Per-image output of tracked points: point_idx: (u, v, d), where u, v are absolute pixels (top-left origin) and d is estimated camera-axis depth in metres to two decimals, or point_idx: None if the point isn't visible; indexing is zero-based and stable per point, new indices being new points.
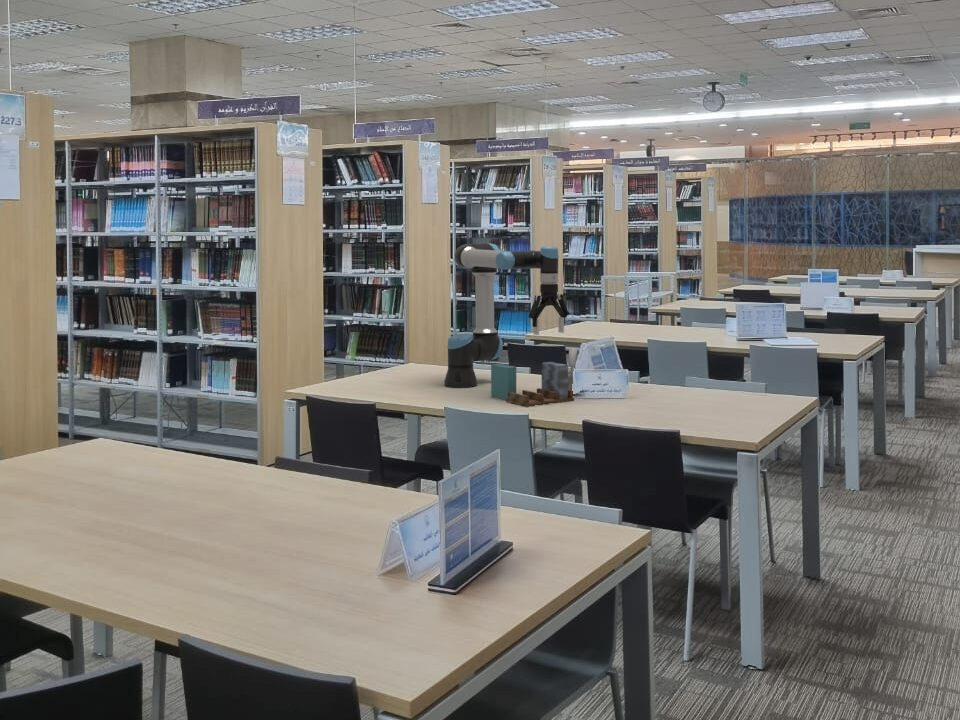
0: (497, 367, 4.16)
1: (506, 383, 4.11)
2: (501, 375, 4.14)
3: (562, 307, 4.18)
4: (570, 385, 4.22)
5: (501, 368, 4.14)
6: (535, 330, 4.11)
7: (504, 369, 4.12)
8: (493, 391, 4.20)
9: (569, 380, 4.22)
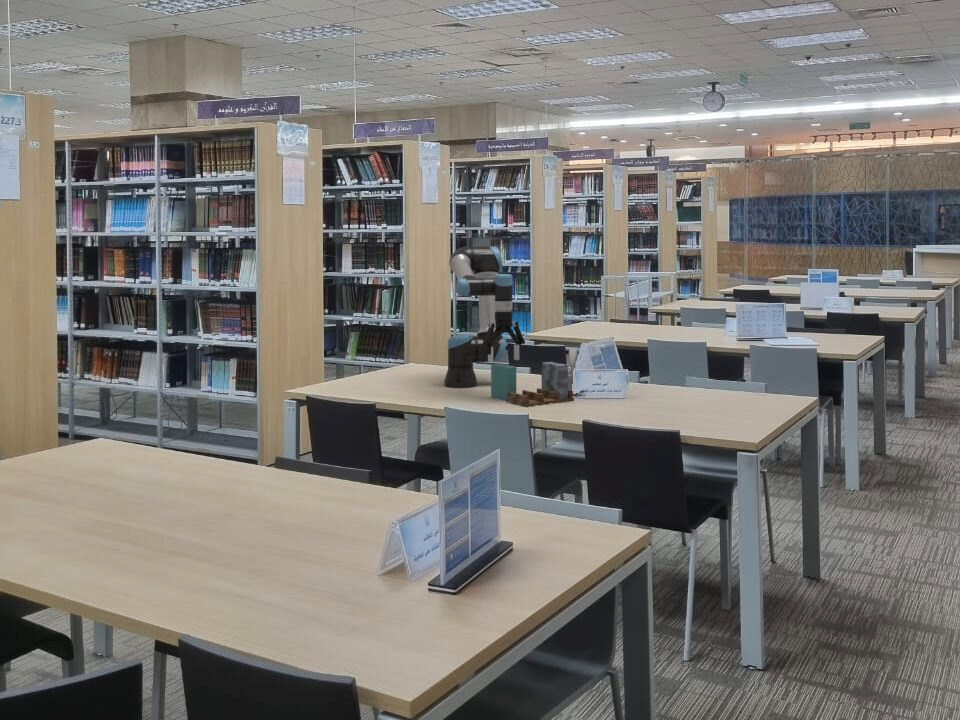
0: (497, 367, 4.16)
1: (506, 383, 4.11)
2: (501, 375, 4.14)
3: (517, 334, 4.18)
4: (570, 385, 4.22)
5: (501, 368, 4.14)
6: (489, 358, 4.11)
7: (504, 369, 4.12)
8: (493, 391, 4.20)
9: (569, 380, 4.22)
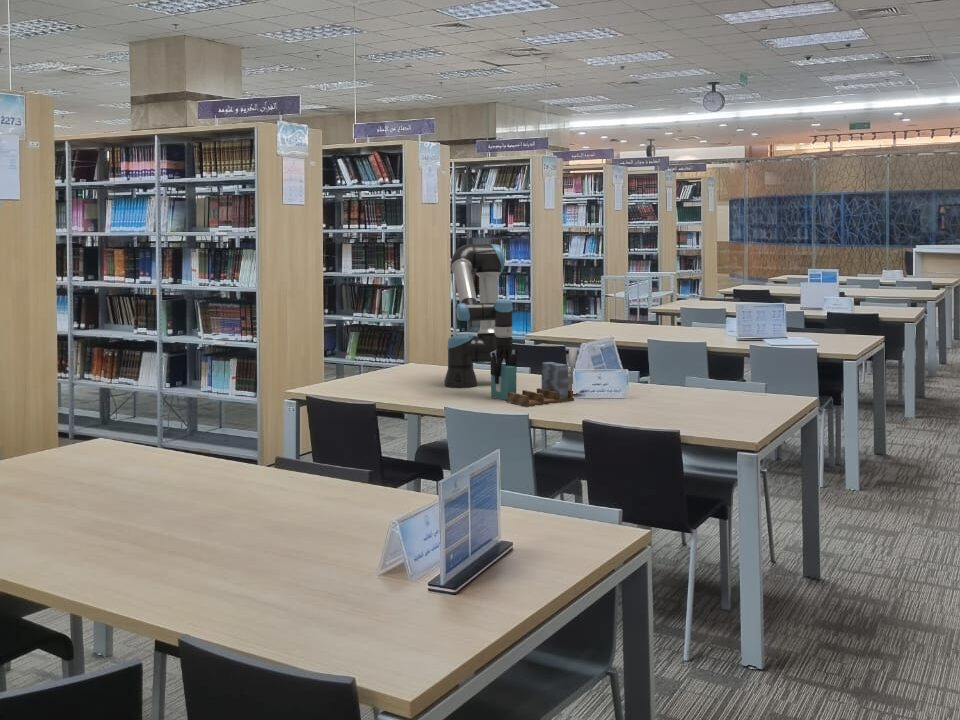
0: None
1: (506, 383, 4.11)
2: (501, 375, 4.14)
3: (512, 363, 4.19)
4: (570, 385, 4.22)
5: (501, 368, 4.14)
6: (497, 387, 4.16)
7: (504, 369, 4.12)
8: (493, 391, 4.20)
9: (569, 380, 4.22)
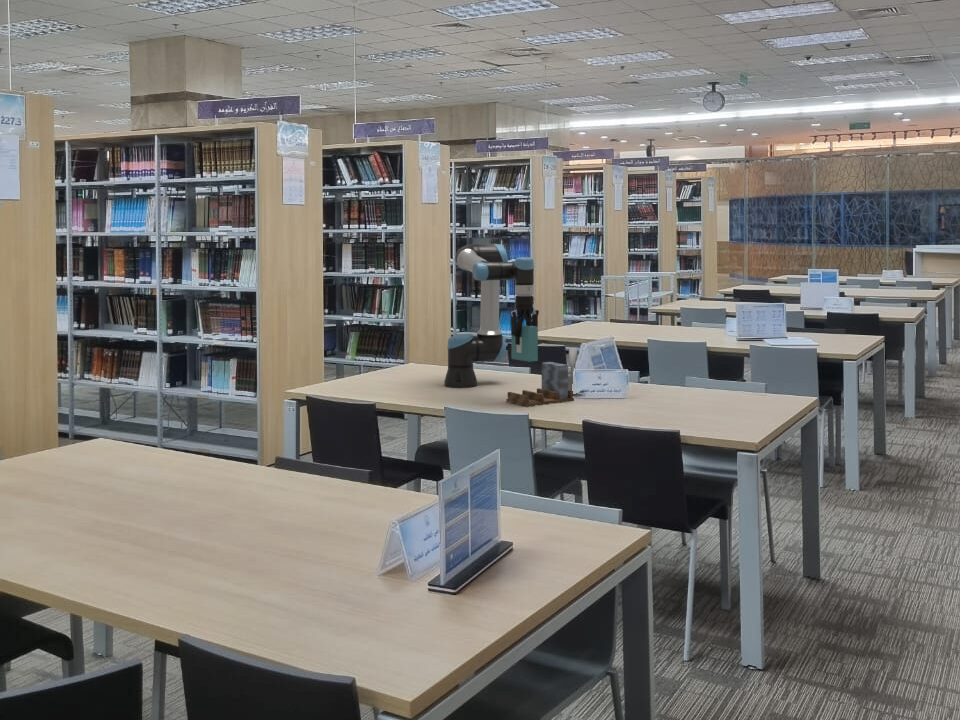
0: None
1: (527, 343, 3.97)
2: (522, 335, 4.00)
3: (533, 324, 4.05)
4: (570, 385, 4.22)
5: (522, 328, 3.99)
6: (518, 348, 4.01)
7: (525, 329, 3.98)
8: (514, 353, 4.05)
9: (569, 380, 4.22)
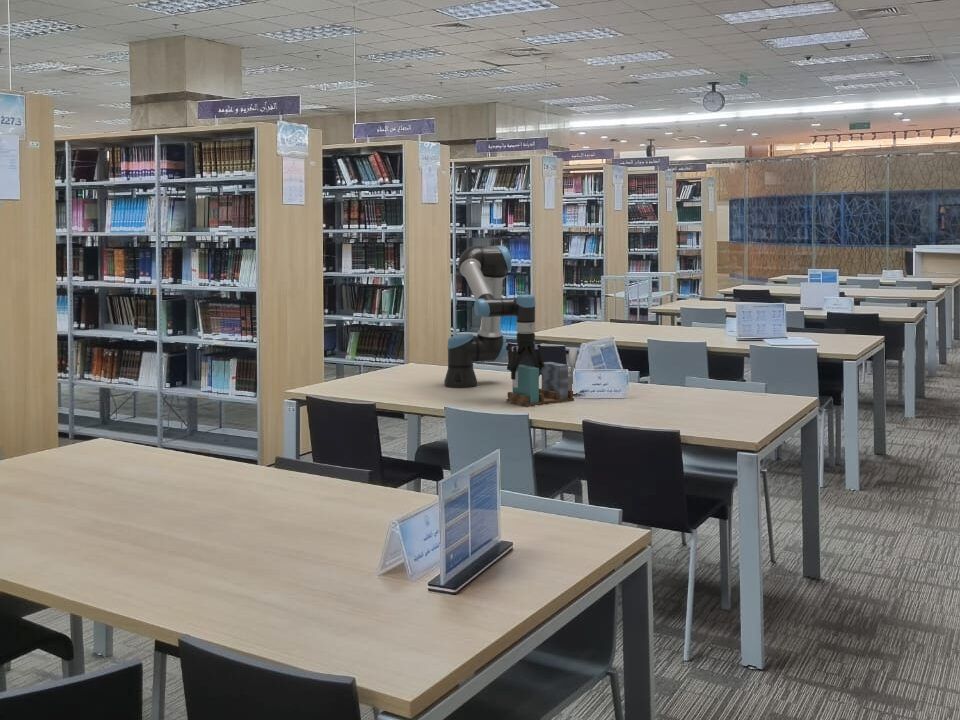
0: (519, 368, 4.04)
1: (528, 385, 3.99)
2: (523, 377, 4.02)
3: (538, 358, 4.07)
4: (570, 385, 4.22)
5: (523, 369, 4.01)
6: (514, 383, 4.01)
7: (526, 370, 4.00)
8: None
9: (569, 380, 4.22)
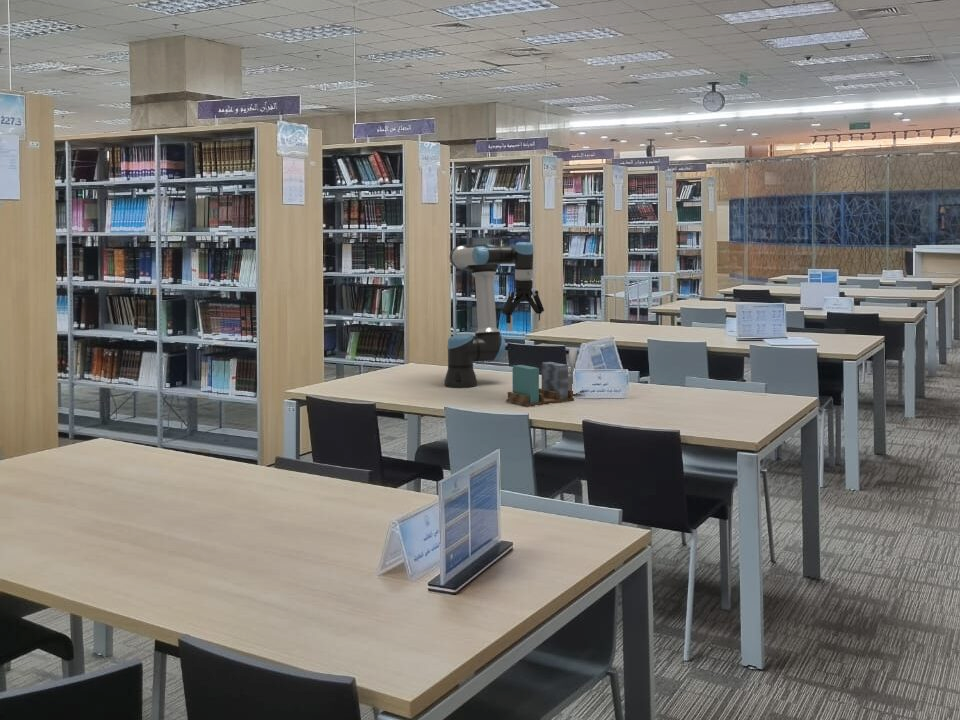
0: (519, 368, 4.04)
1: (528, 385, 3.99)
2: (523, 377, 4.02)
3: (537, 303, 4.16)
4: (570, 385, 4.22)
5: (523, 369, 4.01)
6: (509, 326, 4.10)
7: (526, 370, 4.00)
8: None
9: (569, 380, 4.22)
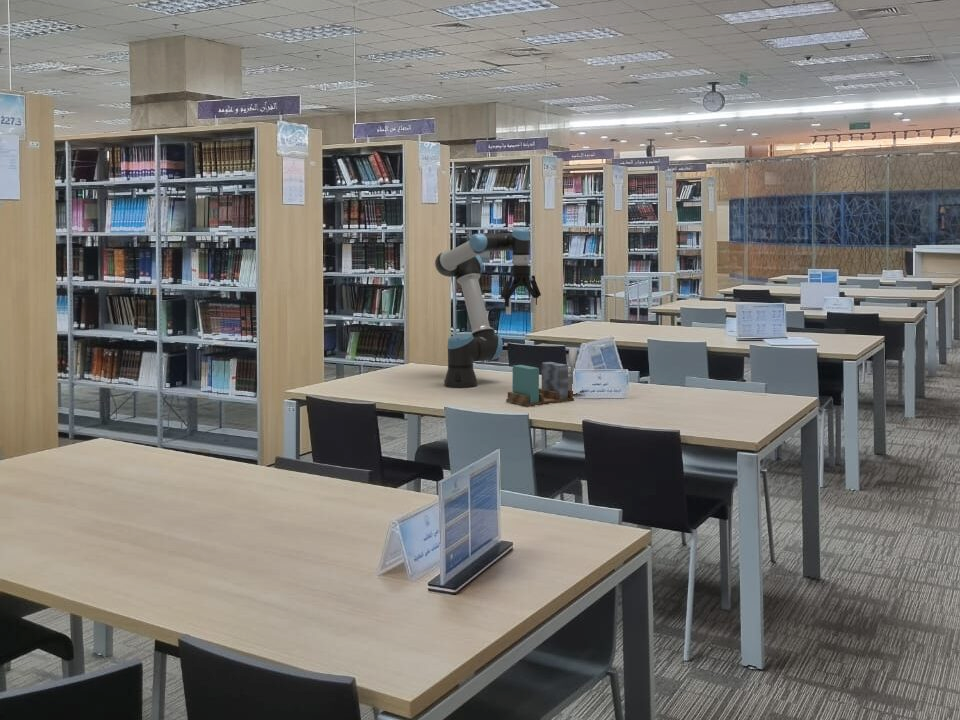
0: (519, 368, 4.04)
1: (528, 385, 3.99)
2: (523, 377, 4.02)
3: (534, 288, 4.32)
4: (570, 385, 4.22)
5: (523, 369, 4.01)
6: (507, 310, 4.25)
7: (526, 370, 4.00)
8: None
9: (569, 380, 4.22)
